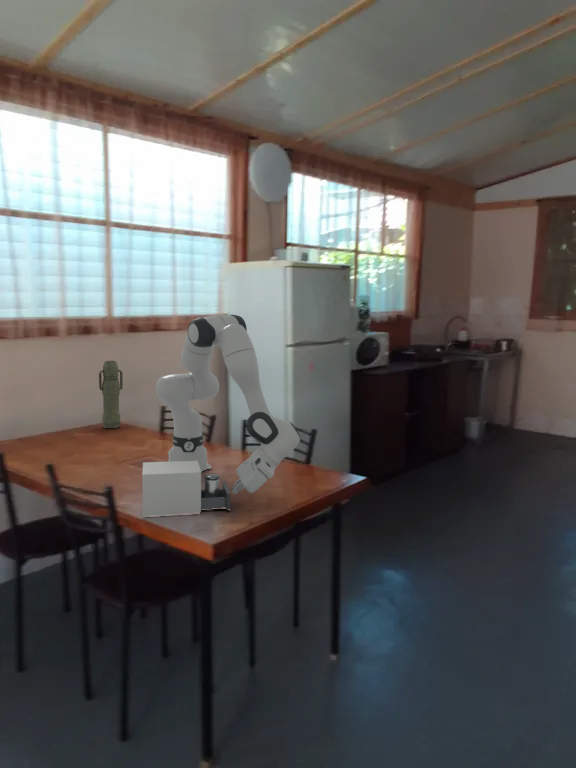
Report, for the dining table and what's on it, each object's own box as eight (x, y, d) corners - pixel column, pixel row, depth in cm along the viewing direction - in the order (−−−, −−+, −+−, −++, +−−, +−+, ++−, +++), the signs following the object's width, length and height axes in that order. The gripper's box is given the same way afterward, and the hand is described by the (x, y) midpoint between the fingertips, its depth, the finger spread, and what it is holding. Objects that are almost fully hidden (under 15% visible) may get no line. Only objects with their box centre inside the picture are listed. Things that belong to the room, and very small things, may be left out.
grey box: (143, 503, 201) (142, 462, 199) (197, 500, 205) (197, 460, 203) (142, 518, 188) (142, 474, 186) (200, 514, 192) (201, 472, 190)
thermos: (97, 426, 317) (96, 360, 312) (119, 424, 324) (118, 359, 319) (103, 430, 310) (101, 362, 305) (125, 427, 317) (124, 361, 312)
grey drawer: (174, 500, 203) (174, 483, 202) (225, 498, 207) (225, 481, 206) (176, 514, 190) (176, 495, 190) (230, 511, 194) (230, 493, 193)
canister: (203, 500, 201) (204, 473, 200) (218, 499, 202) (218, 473, 201) (204, 504, 196) (204, 477, 195) (218, 504, 197) (219, 477, 196)
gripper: (250, 448, 210) (222, 476, 210) (261, 464, 191) (230, 495, 190) (263, 460, 212) (235, 488, 211) (274, 477, 192) (243, 508, 191)
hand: (232, 491), depth 200 cm, fingers closed
